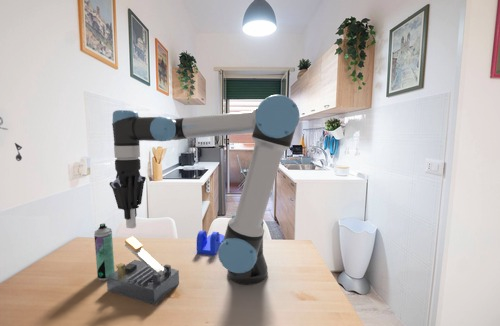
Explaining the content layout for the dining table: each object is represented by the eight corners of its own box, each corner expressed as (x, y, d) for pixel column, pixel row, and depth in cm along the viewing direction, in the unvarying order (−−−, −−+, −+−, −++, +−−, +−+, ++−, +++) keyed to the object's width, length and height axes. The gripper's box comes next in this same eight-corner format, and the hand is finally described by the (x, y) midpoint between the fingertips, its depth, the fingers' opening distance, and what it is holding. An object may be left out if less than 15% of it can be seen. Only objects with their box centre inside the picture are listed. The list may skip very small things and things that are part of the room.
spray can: (109, 270, 95) (105, 220, 93) (117, 274, 92) (114, 223, 90) (94, 277, 91) (90, 225, 88) (102, 282, 88) (98, 228, 85)
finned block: (179, 283, 87) (178, 259, 86) (154, 305, 76) (153, 278, 75) (135, 272, 94) (134, 250, 93) (107, 290, 83) (105, 266, 82)
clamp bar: (166, 273, 83) (168, 268, 82) (159, 278, 80) (162, 273, 79) (130, 242, 87) (132, 236, 86) (123, 245, 84) (125, 239, 84)
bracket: (214, 255, 107) (214, 235, 106) (196, 253, 109) (196, 234, 108) (226, 238, 125) (226, 221, 124) (211, 237, 127) (210, 220, 125)
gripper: (134, 156, 89) (137, 219, 91) (101, 159, 77) (106, 232, 79) (151, 157, 86) (153, 222, 89) (119, 161, 74) (123, 236, 77)
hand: (131, 227), depth 84 cm, fingers closed
